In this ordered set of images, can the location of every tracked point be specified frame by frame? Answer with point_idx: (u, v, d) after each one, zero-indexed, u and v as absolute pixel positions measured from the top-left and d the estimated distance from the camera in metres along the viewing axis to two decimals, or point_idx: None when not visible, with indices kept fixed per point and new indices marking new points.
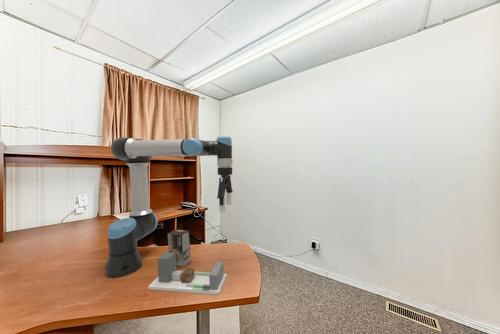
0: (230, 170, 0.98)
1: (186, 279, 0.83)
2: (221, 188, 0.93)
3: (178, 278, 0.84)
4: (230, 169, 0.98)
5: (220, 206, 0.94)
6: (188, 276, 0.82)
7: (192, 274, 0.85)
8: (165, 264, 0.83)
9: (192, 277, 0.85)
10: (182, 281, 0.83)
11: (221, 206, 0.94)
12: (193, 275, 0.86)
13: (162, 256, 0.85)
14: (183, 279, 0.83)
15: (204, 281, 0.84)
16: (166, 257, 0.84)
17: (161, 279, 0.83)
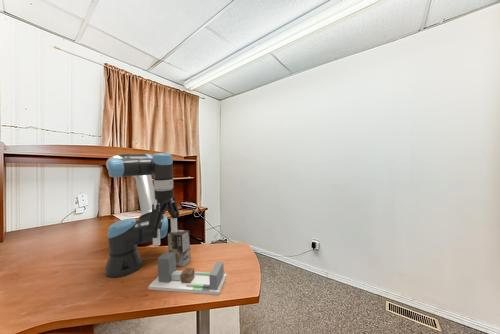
0: (169, 194, 0.82)
1: (186, 279, 0.83)
2: (153, 217, 0.76)
3: (178, 278, 0.84)
4: (169, 192, 0.82)
5: (154, 239, 0.78)
6: (188, 276, 0.82)
7: (192, 274, 0.85)
8: (165, 264, 0.83)
9: (192, 277, 0.85)
10: (182, 281, 0.83)
11: (155, 239, 0.78)
12: (193, 275, 0.86)
13: (162, 256, 0.85)
14: (183, 279, 0.83)
15: (204, 281, 0.84)
16: (166, 257, 0.84)
17: (161, 279, 0.83)
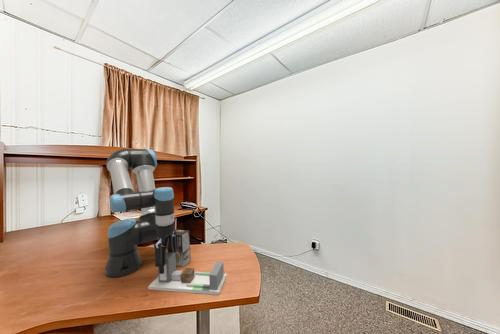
0: (170, 228, 0.83)
1: (186, 279, 0.83)
2: (158, 256, 0.79)
3: (178, 278, 0.84)
4: (170, 227, 0.83)
5: (161, 274, 0.82)
6: (188, 276, 0.82)
7: (192, 274, 0.85)
8: None
9: (192, 277, 0.85)
10: (182, 281, 0.83)
11: (162, 274, 0.82)
12: (193, 275, 0.86)
13: None
14: (183, 279, 0.83)
15: (204, 281, 0.84)
16: (166, 257, 0.84)
17: None
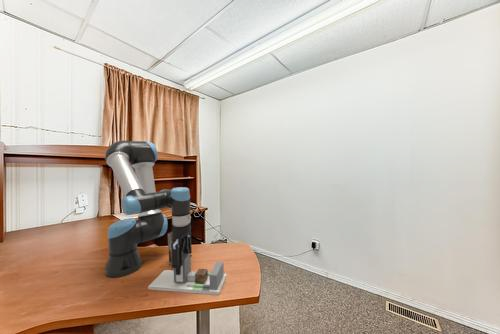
0: (187, 229, 0.82)
1: (200, 280, 0.82)
2: (175, 257, 0.78)
3: (194, 279, 0.83)
4: (187, 228, 0.82)
5: (177, 275, 0.81)
6: (202, 277, 0.81)
7: (206, 275, 0.84)
8: (181, 265, 0.82)
9: (206, 278, 0.84)
10: (196, 282, 0.82)
11: (178, 275, 0.81)
12: (206, 276, 0.85)
13: None
14: (197, 280, 0.82)
15: None
16: (182, 258, 0.83)
17: None
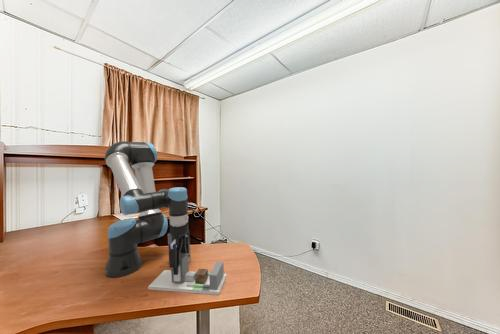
0: (184, 229, 0.82)
1: (200, 280, 0.82)
2: (173, 257, 0.78)
3: (191, 279, 0.83)
4: (184, 228, 0.82)
5: (175, 275, 0.82)
6: (203, 277, 0.81)
7: (206, 275, 0.84)
8: None
9: (206, 278, 0.84)
10: (196, 282, 0.82)
11: (176, 275, 0.82)
12: (207, 276, 0.85)
13: None
14: (197, 280, 0.82)
15: None
16: None
17: None
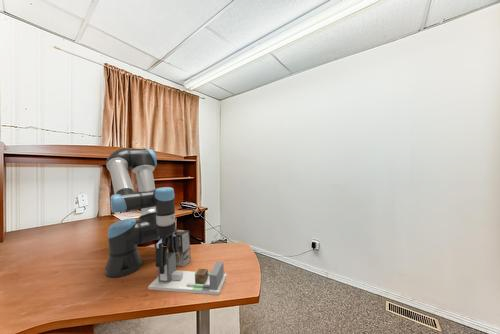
0: (171, 228, 0.83)
1: (200, 280, 0.82)
2: (159, 256, 0.79)
3: (178, 278, 0.84)
4: (171, 227, 0.83)
5: (161, 274, 0.82)
6: (203, 277, 0.81)
7: (206, 275, 0.84)
8: (165, 264, 0.83)
9: (206, 278, 0.84)
10: (196, 282, 0.82)
11: (162, 274, 0.82)
12: (207, 276, 0.85)
13: None
14: (197, 280, 0.82)
15: None
16: (166, 257, 0.84)
17: None
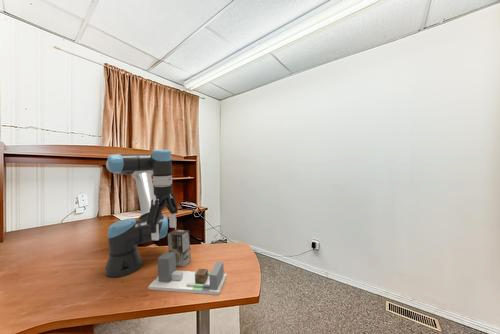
0: (168, 190, 0.83)
1: (200, 280, 0.82)
2: (152, 213, 0.77)
3: (178, 278, 0.84)
4: (168, 188, 0.83)
5: (152, 234, 0.79)
6: (203, 277, 0.81)
7: (206, 275, 0.84)
8: (165, 264, 0.83)
9: (206, 278, 0.84)
10: (196, 282, 0.82)
11: (153, 234, 0.79)
12: (207, 276, 0.85)
13: (162, 256, 0.85)
14: (197, 280, 0.82)
15: None
16: (166, 257, 0.84)
17: (161, 279, 0.83)
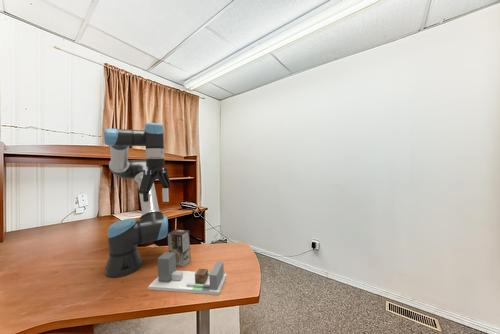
0: (160, 162, 0.86)
1: (200, 280, 0.82)
2: (144, 182, 0.80)
3: (178, 278, 0.84)
4: (160, 160, 0.86)
5: (145, 203, 0.82)
6: (203, 277, 0.81)
7: (206, 275, 0.84)
8: (165, 264, 0.83)
9: (206, 278, 0.84)
10: (196, 282, 0.82)
11: (146, 203, 0.82)
12: (207, 276, 0.85)
13: (162, 256, 0.85)
14: (197, 280, 0.82)
15: None
16: (166, 257, 0.84)
17: (161, 279, 0.83)
